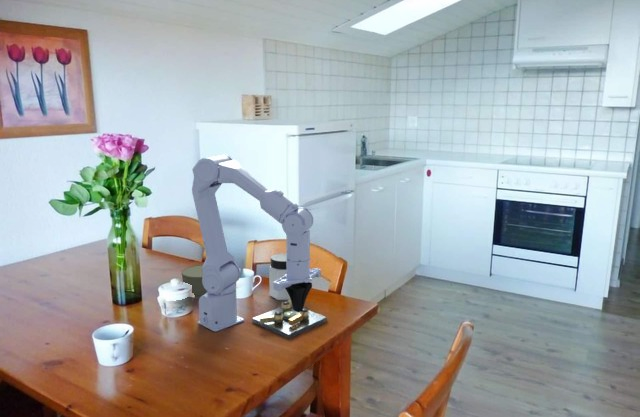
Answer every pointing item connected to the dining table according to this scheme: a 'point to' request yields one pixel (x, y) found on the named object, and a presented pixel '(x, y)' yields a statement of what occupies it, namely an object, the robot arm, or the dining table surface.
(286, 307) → the back footscrew
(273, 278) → the jar
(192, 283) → the can
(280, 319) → the left footscrew
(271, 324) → the plate
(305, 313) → the front footscrew
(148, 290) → the dining table surface
